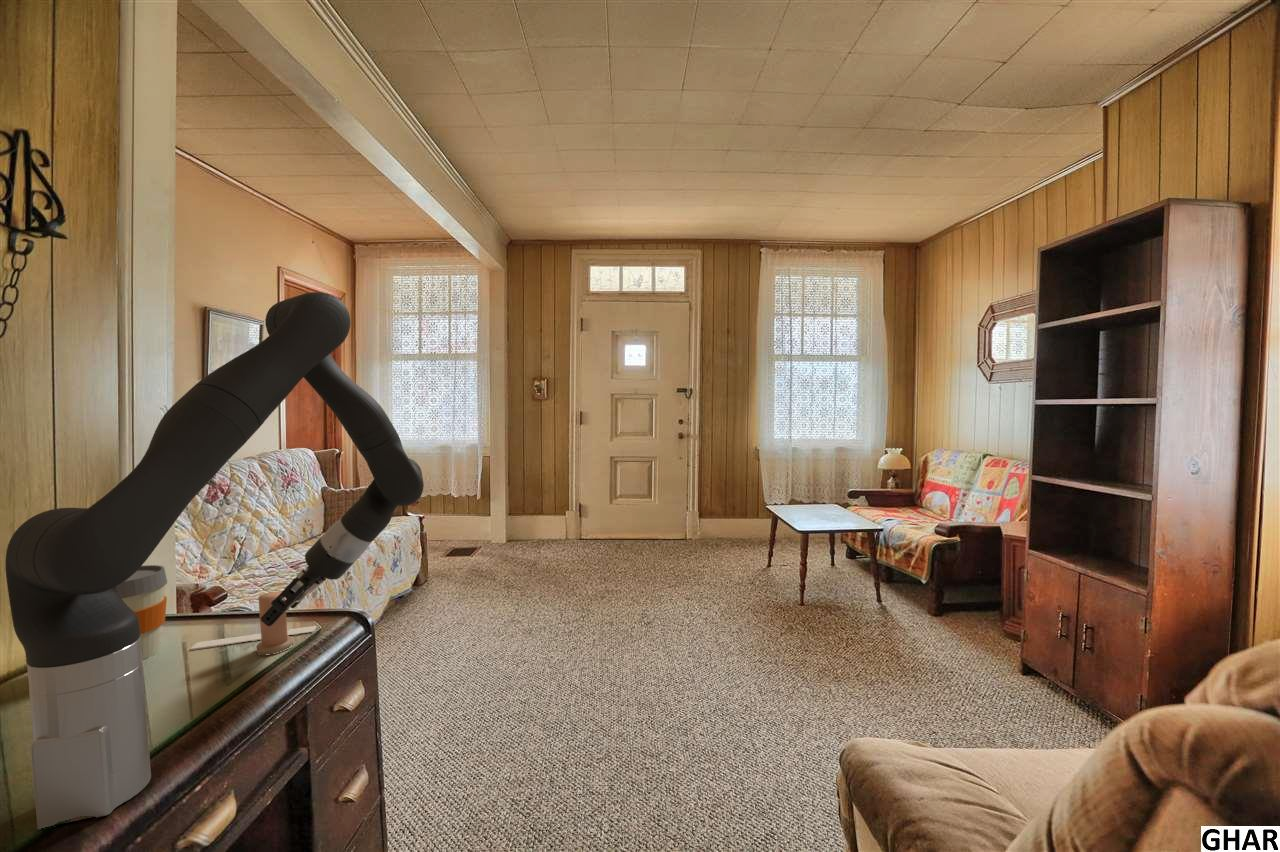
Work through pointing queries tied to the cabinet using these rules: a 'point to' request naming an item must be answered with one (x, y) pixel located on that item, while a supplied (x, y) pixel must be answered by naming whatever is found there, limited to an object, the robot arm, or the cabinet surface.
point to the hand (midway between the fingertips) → (277, 613)
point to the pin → (272, 628)
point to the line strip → (245, 638)
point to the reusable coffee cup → (147, 604)
